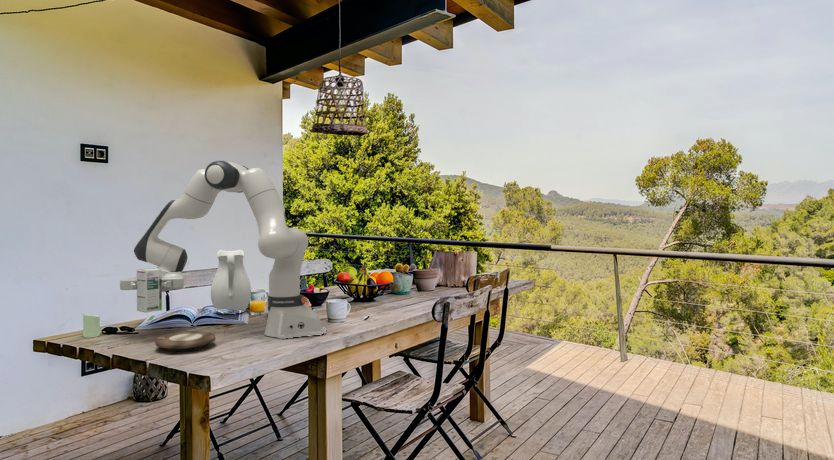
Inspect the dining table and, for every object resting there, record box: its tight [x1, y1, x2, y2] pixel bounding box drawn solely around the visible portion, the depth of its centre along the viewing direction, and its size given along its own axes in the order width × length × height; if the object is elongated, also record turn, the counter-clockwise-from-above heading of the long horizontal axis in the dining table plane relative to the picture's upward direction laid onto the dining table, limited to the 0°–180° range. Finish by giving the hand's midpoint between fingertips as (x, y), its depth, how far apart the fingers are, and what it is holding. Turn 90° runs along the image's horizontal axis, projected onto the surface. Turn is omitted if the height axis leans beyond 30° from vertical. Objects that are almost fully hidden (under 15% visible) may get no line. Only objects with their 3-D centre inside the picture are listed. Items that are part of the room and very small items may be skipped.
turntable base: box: [168, 345, 204, 352], centre depth 166 cm, size 10×10×2 cm
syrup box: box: [136, 267, 163, 313], centre depth 173 cm, size 6×6×14 cm
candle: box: [82, 313, 101, 339], centre depth 181 cm, size 5×5×8 cm
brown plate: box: [154, 330, 217, 349], centre depth 166 cm, size 18×18×1 cm
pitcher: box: [210, 249, 252, 312], centre depth 222 cm, size 24×17×28 cm
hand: (148, 286), depth 173 cm, fingers closed on syrup box, 8 cm apart
